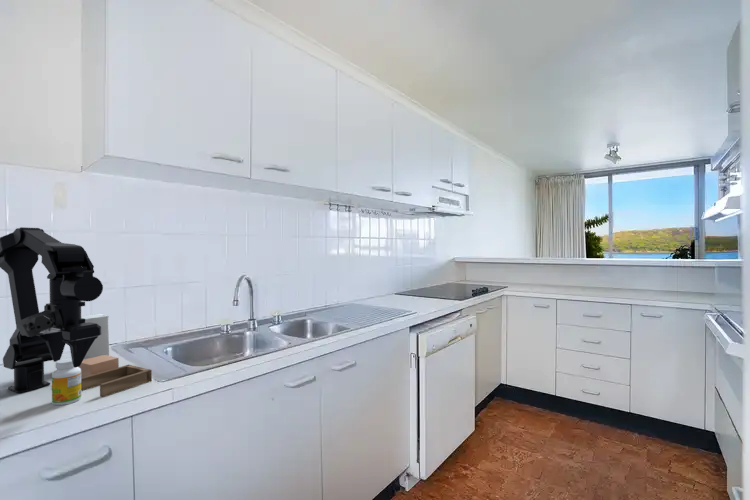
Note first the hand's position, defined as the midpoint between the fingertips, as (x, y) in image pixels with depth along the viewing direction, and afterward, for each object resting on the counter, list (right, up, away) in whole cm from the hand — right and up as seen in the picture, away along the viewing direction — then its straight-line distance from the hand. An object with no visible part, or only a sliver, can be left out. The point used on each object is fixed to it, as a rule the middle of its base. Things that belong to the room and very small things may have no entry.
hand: (66, 364), depth 88 cm
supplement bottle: (0, -9, 0) cm, 9 cm away
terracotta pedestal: (-4, -9, +16) cm, 18 cm away
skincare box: (-13, -9, +25) cm, 29 cm away
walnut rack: (+5, -9, +10) cm, 14 cm away
